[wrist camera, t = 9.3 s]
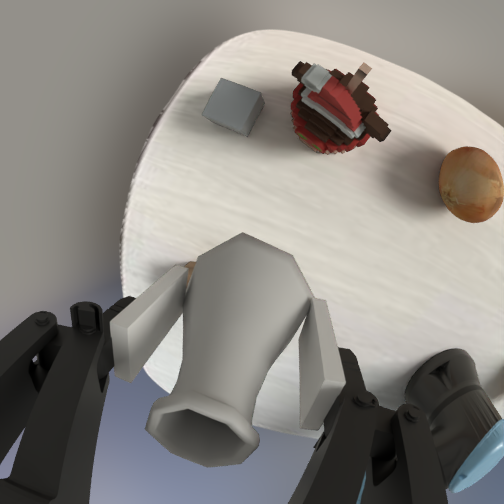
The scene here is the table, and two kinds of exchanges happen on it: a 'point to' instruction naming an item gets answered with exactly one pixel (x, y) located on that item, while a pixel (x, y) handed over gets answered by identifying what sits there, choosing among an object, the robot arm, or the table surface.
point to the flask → (229, 349)
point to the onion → (471, 184)
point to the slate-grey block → (234, 106)
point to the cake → (334, 109)
